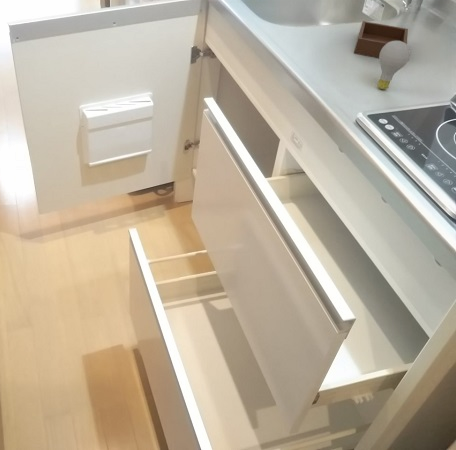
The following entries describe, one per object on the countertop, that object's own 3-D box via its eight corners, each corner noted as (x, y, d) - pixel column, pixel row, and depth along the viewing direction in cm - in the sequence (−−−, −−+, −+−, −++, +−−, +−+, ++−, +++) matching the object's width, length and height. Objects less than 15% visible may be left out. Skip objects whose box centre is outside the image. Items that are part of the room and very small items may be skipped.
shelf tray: (402, 43, 124) (408, 28, 122) (400, 62, 116) (406, 47, 114) (358, 35, 127) (362, 20, 124) (353, 53, 119) (358, 38, 117)
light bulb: (395, 97, 104) (414, 49, 97) (367, 92, 105) (384, 44, 98) (396, 85, 108) (414, 38, 101) (369, 80, 109) (385, 33, 102)
